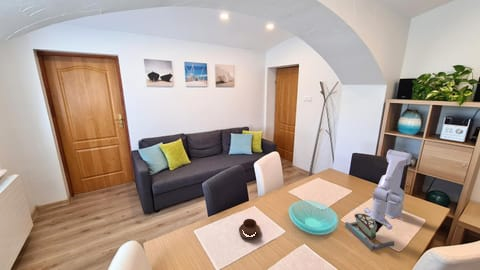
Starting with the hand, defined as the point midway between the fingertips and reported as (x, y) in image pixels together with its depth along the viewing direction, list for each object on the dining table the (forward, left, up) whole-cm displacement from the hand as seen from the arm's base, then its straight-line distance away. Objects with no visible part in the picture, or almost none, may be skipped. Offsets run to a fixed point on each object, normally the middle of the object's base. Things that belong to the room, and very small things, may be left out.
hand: (374, 231), depth 102 cm
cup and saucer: (+65, -17, -2) cm, 67 cm away
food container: (+3, 0, -1) cm, 3 cm away
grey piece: (+3, 0, -2) cm, 4 cm away
